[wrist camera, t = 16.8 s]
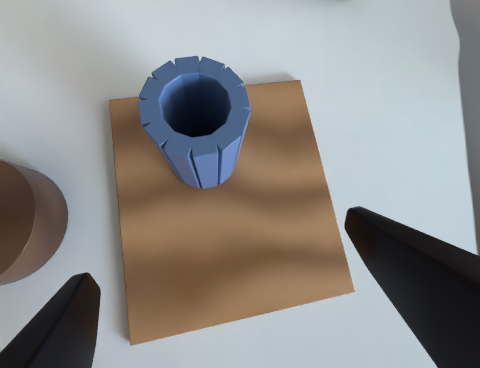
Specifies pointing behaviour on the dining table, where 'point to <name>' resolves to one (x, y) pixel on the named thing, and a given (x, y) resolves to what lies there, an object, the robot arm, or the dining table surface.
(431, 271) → the robot arm
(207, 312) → the wooden board
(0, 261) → the stand
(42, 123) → the dining table surface
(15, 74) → the dining table surface
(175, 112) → the sleeve
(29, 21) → the dining table surface
